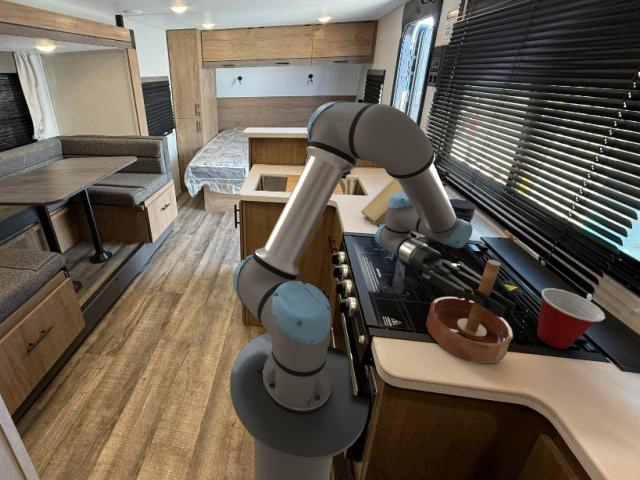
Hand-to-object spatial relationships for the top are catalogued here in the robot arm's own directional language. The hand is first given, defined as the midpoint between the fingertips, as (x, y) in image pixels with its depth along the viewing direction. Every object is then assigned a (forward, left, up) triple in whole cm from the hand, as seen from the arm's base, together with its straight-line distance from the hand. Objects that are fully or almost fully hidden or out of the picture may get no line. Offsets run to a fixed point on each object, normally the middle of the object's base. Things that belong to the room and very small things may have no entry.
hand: (507, 310), depth 68 cm
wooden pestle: (-3, +4, -11) cm, 12 cm away
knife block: (-8, +77, -14) cm, 79 cm away
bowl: (-4, +4, -13) cm, 15 cm away
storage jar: (+9, +62, -14) cm, 64 cm away
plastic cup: (+17, +9, -14) cm, 23 cm away
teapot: (-10, +49, -14) cm, 52 cm away
